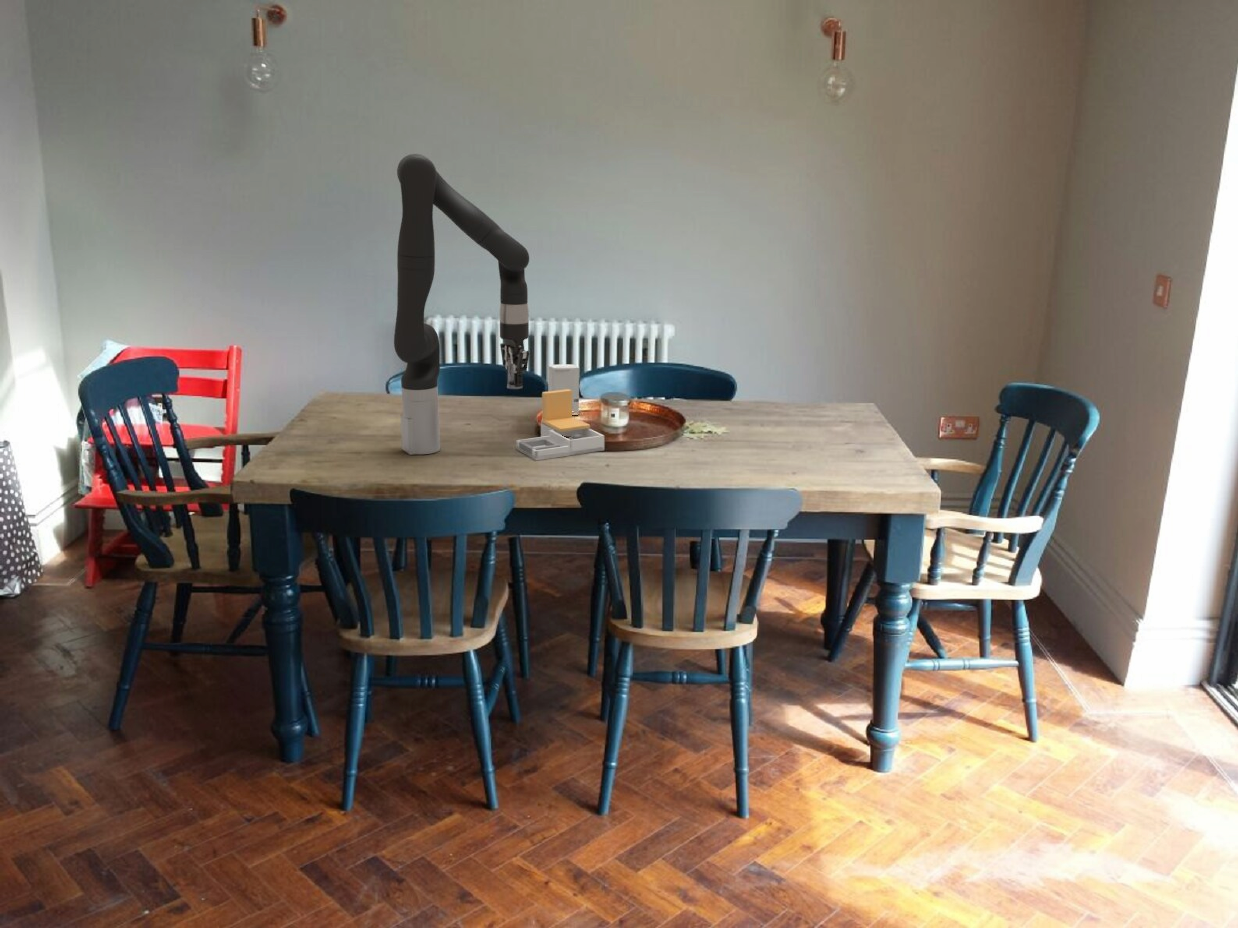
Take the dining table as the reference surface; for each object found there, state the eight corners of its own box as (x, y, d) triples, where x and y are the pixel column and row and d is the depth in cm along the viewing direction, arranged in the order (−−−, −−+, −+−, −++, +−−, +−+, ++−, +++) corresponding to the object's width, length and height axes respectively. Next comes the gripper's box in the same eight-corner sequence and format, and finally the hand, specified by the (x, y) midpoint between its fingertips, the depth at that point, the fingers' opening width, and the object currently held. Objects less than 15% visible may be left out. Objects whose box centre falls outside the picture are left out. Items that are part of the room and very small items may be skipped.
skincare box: (552, 418, 332) (551, 368, 328) (547, 413, 338) (546, 364, 334) (580, 416, 335) (579, 366, 330) (574, 411, 340) (574, 362, 336)
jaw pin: (524, 388, 299) (524, 360, 297) (510, 389, 297) (510, 361, 295) (518, 385, 303) (518, 357, 300) (504, 386, 301) (504, 358, 299)
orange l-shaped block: (560, 431, 300) (560, 401, 298) (541, 422, 310) (540, 392, 308) (590, 427, 304) (590, 397, 302) (570, 418, 315) (569, 389, 312)
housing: (535, 460, 290) (535, 445, 289) (504, 442, 306) (503, 428, 305) (604, 450, 299) (604, 435, 298) (570, 433, 316) (570, 419, 315)
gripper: (538, 323, 291) (539, 389, 296) (516, 315, 302) (516, 378, 307) (511, 325, 287) (512, 391, 292) (490, 317, 299) (491, 380, 304)
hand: (514, 384), depth 300 cm, fingers closed on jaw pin, 4 cm apart
